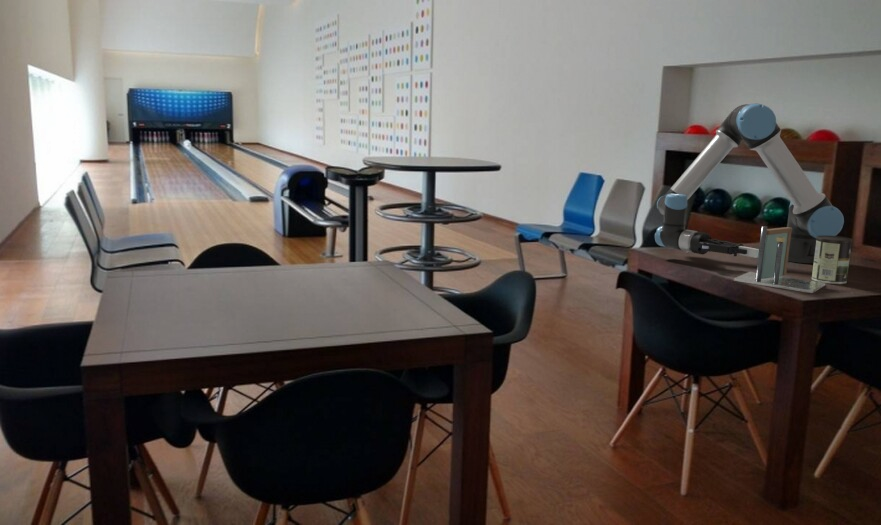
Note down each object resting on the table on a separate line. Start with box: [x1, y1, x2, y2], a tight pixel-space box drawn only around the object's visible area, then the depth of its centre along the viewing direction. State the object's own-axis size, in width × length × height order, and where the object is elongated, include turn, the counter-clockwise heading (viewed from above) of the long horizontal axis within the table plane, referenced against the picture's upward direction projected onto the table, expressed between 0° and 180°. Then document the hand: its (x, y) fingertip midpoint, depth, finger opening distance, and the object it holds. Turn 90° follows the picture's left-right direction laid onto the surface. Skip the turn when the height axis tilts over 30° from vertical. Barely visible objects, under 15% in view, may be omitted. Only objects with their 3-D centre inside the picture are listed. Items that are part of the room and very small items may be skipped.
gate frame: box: [733, 226, 826, 294], centre depth 231 cm, size 15×23×18 cm, turn 50°
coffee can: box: [811, 235, 854, 285], centre depth 237 cm, size 10×10×14 cm
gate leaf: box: [761, 226, 792, 279], centre depth 233 cm, size 13×2×15 cm, turn 125°
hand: (757, 253), depth 238 cm, fingers closed
